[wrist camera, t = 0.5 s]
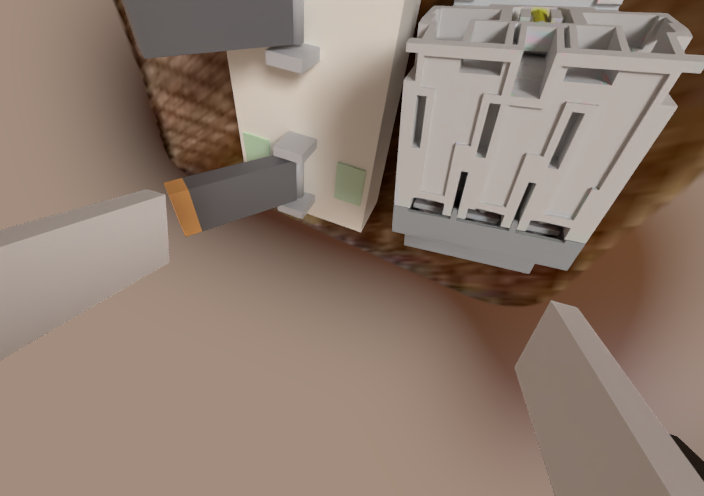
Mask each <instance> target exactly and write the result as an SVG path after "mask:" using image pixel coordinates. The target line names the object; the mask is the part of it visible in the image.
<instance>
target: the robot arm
mask: <svg viewBox="0 0 704 496" xmlns="http://www.w3.org/2000/svg"><path fill="white" fill-rule="evenodd" d="M168 263H169V248H168V231H167V213H166V195H165V194H162V193H158V192H154V191H151V190H147V189H146V190H142V191H139V192H135V193H131V194H128V195H124V196H120V197H117V198H113V199H110V200H106V201H103V202H99V203H95V204H92V205H88V206H85V207H81V208H78V209H74V210H70V211H67V212H63V213H59V214H56V215H52V216H49V217H45V218H42V219H38V220H34V221H31V222H27V223H24V224H20V225H16V226H13V227H9V228H6V229H2V230H0V360H2V359H4V358H5V357H7V356H9V355H11V354H12V353H14V352H16V351H18V350H19V349H21V348H23V347H24V346H26V345H28V344H30V343H31V342H33V341H35V340H36V339H38V338H40V337H42V336H43V335H45V334H47V333H49V332H50V331H52V330H53V329H55V328H57V327H59V326H61V325H62V324H64V323H66V322H68V321H69V320H71V319H73V318H74V317H76V316H78V315H80V314H81V313H83V312H85V311H86V310H88V309H90V308H92V307H93V306H95V305H97V304H99V303H100V302H102V301H104V300H105V299H107V298H109V297H110V296H112V295H114V294H116V293H117V292H119V291H121V290H123V289H124V288H126V287H128V286H130V285H131V284H133V283H135V282H136V281H138V280H140V279H142V278H143V277H145V276H147V275H149V274H150V273H152V272H154V271H155V270H157V269H159V268H161V267H162V266H164V265H166V264H168ZM514 368H515V371H516V374H517V377H518V381H519V384H520V387H521V390H522V393H523V397H524V400H525V403H526V406H527V409H528V412H529V416H530V419H531V422H532V425H533V428H534V432H535V435H536V438H537V441H538V444H539V448H540V451H541V454H542V457H543V460H544V464H545V466H546V470H547V473H548V476H549V479H550V483H551V485H552V489H553V492H554V495H555V496H704V461H703V460H701V458H699V457H698V456H697V455H696V454H695V453H694V452H693V451H692V450H691V449H690V448H689V447H688V446H687V445H686V444H685V443H684V442H682V441H681V440H680V439H679V438H678V437H677V436H674V435H670V434H669V433H668V432H667V431H666V429H665V428H664V426H663V425H662V423H661V422H660V421H659V419H658V418H657V417H656V415H655V414H654V412H653V411H652V410H651V408H650V407H649V406H648V404H647V403H646V401H645V400H644V399H643V397H642V396H641V395H640V393H639V392H638V390H637V389H636V388H635V386H634V385H633V384H632V382H631V381H630V379H629V378H628V377H627V375H626V374H625V373H624V371H623V370H622V368H621V367H620V366H619V364H618V363H617V361H616V360H615V359H614V357H613V356H612V355H611V353H610V352H609V351H608V349H607V348H606V346H605V345H604V344H603V342H602V341H601V340H600V338H599V337H598V335H597V334H596V333H595V331H594V330H593V328H592V327H591V326H590V324H589V323H588V322H587V320H586V319H585V317H584V316H583V315H582V313H581V312H580V311H579V309H578V308H577V307H573V306H569V305H566V304H562V303H558V302H555V301H550V303H549V305H548V307H547V309H546V310H545V312H544V314H543V316H542V318H541V319H540V321H539V323H538V325H537V327H536V329H535V330H534V332H533V334H532V336H531V338H530V340H529V341H528V343H527V345H526V347H525V349H524V351H523V353H522V354H521V356H520V358H519V360H518V362H517V363H516V365H515V367H514Z"/></svg>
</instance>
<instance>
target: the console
mask: <svg viewBox="0 0 704 496" xmlns="http://www.w3.org/2000/svg"><path fill="white" fill-rule="evenodd" d="M420 3H421V0H304V43H303V44H300V45H296V44H294V45H283V46H272V47H262V48H251V49H241V50H230V51H226V52H227V58H228V64H229V71H230V77H231V83H232V89H233V96H234V102H235V108H236V115H237V121H238V127H239V133H240V140H241V146H242V152H243V158H244V162H247V161H251V160H255V159H259V158H263V157H267V156H271V155H273V156H277V157H280V158H283V159H286V160H289V161H292V162H295V163H298V164H301V165H302V164H303V163H304V196H303V197H302V198H297V200H296V201H293V202H290V203H287V204H284V205H281V206H278V211H280V212H283V213H286V214H289V215H292V216H295V217H297V218H300V219H303V218H304V216H305V215H306V214H310V215H313V216H316V217H318V218H321V219H324V220H327V221H330V222H333V223H336V224H338V225H341V226H344V227H347V228H350V229H353V230H356V231H358V232H361V231H362V229H363V228H364V226H365V224H366V222H367V220H368V218H369V216H370V214H371V212H372V210H373V208H374V206H375V205H376V203H377V200H378V195H379V190H380V186H381V181H382V177H383V172H384V167H385V163H386V158H387V154H388V149H389V145H390V140H391V135H392V131H393V126H394V122H395V117H396V113H397V108H398V103H399V99H400V94H401V90H402V85H403V80H404V76H405V71H406V67H407V62H408V58H409V53H410V52H406V43H407V41H408V40H409V38H413V35H414V30H415V25H416V21H417V16H418V12H419V7H420Z"/></svg>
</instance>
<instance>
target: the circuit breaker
mask: <svg viewBox="0 0 704 496" xmlns="http://www.w3.org/2000/svg"><path fill="white" fill-rule="evenodd" d="M622 2H623V0H454V5H453V6H433V7H432V8H431V9H430V10H429V11H428V12H427V13H426V14H425V15H424V16H423V17H422V19H421V20H420V22H419V23H418V34H417V38H409V40H408V41H407V43H406V52H413V53H416V54H415V64H414V67H413V68H412V69H411V71H410V72H409V73H408V75H407V76H406V77H405V79H404V81H403V94H402V107H401V120H400V133H399V146H398V158H397V171H396V184H395V197H394V210H393V223H392V231H393V232H398V233H402V234H405V239H404V245H406V246H411V247H415V248H419V249H424V250H428V251H432V252H437V253H441V254H445V255H450V256H454V257H458V258H463V259H467V260H471V261H476V262H480V263H484V264H489V265H493V266H497V267H502V268H506V269H510V270H515V271H519V272H523V273H527V274H529V273H530V271H531V270H532V268H533V266H534V264H540V265H544V266H549V267H553V268H557V269H562V270H566V271H567V270H568V269H569V267H570V266H571V264H572V263H573V261H574V260H575V258H576V257H577V255H578V254H579V252H580V251H581V250H582V248H583V247H584V245H585V244H586V242H587V241H588V239H589V238H590V236H591V235H592V233H593V232H594V230H595V229H596V227H597V226H598V224H599V223H600V221H601V220H602V218H603V217H604V215H605V214H606V213H607V211H608V210H609V208H610V207H611V205H612V204H613V202H614V201H615V199H616V198H617V196H618V195H619V193H620V192H621V190H622V189H623V187H624V186H625V184H626V183H627V181H628V180H629V178H630V177H631V175H632V174H633V173H634V171H635V170H636V168H637V167H638V165H639V164H640V162H641V161H642V159H643V158H644V156H645V155H646V153H647V152H648V150H649V149H650V147H651V146H652V144H653V143H654V141H655V140H656V138H657V137H658V135H659V134H660V133H661V131H662V130H663V128H664V127H665V125H666V124H667V122H668V121H669V119H670V118H671V116H672V115H673V113H674V112H675V110H676V109H677V107H678V106H677V104H676V103H675V102H674V101H673V99H672V98H671V97H670V95H669V94H668V93H669V91H670V90H671V88H672V87H673V85H674V84H675V82H676V80H677V79H678V77H679V76H680V74H681V73H682V72H688V73H701V72H702V70H703V69H704V55H687V54H685V53H684V51H685V49H686V47H687V46H688V44H689V42H690V41H691V39H692V38H693V36H692V34H691V33H690V31H689V29H688V28H686V27H685V26H684V25H682V24H681V23H680V22H678V21H677V20H676V19H674V18H673V17H672V16H670V15H669V14H668V13H642V12H619V11H618V9H619V6H620V5H621V4H622Z"/></svg>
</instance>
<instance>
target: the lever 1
mask: <svg viewBox="0 0 704 496" xmlns="http://www.w3.org/2000/svg"><path fill="white" fill-rule="evenodd" d="M122 3H123V6H124V8H125V11H126V14H127V17H128V20H129V23H130V26H131V29H132V32H133V35H134V38H135V41H136V44H137V47H138V49H139V51H140V52H141V54H142V55H143V57H144V58H156V57H167V56H177V55H188V54H198V53H209V52H220V51H230V50H241V49H251V48H262V47H272V46H283V45H294V44H296V45H300V44H303V43H304V0H122Z"/></svg>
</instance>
